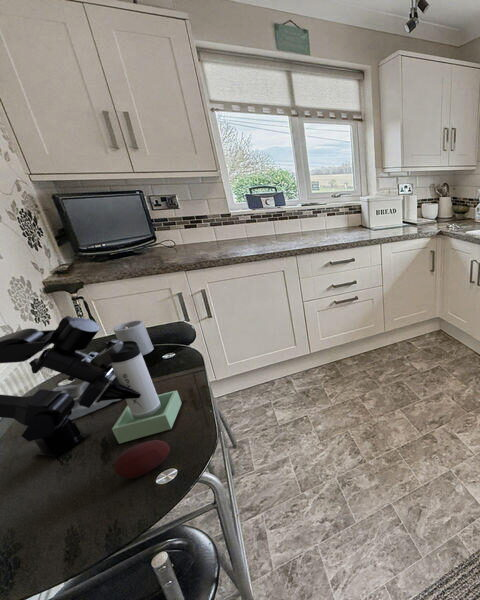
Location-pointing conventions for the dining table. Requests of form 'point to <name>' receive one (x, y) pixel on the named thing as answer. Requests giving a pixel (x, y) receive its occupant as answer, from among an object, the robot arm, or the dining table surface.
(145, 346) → the cup
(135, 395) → the robot arm
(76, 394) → the wall plaque
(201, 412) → the dining table surface
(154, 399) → the travel mug
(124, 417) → the holder
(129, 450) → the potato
